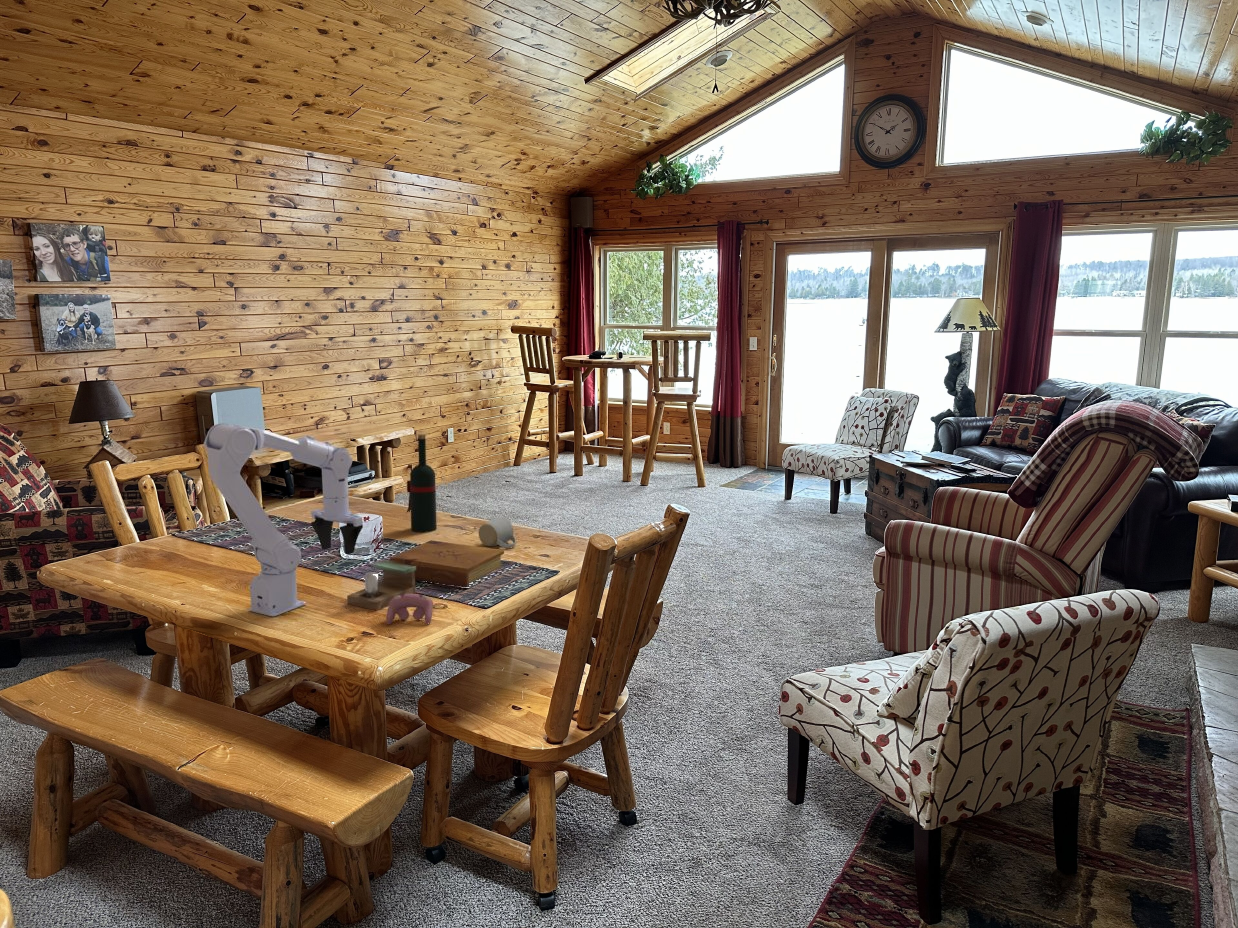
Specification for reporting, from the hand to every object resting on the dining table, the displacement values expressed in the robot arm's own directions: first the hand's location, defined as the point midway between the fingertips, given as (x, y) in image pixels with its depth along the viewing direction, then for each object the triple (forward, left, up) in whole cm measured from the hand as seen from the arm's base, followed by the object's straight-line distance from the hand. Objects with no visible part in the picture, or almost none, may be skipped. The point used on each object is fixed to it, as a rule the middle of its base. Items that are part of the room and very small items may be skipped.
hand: (337, 551), depth 196 cm
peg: (-3, -13, -10) cm, 17 cm away
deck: (0, -13, -10) cm, 16 cm away
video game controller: (-7, -28, -10) cm, 31 cm away
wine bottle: (+55, +21, -10) cm, 60 cm away
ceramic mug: (+53, -10, -10) cm, 55 cm away
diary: (+24, -14, -11) cm, 30 cm away
